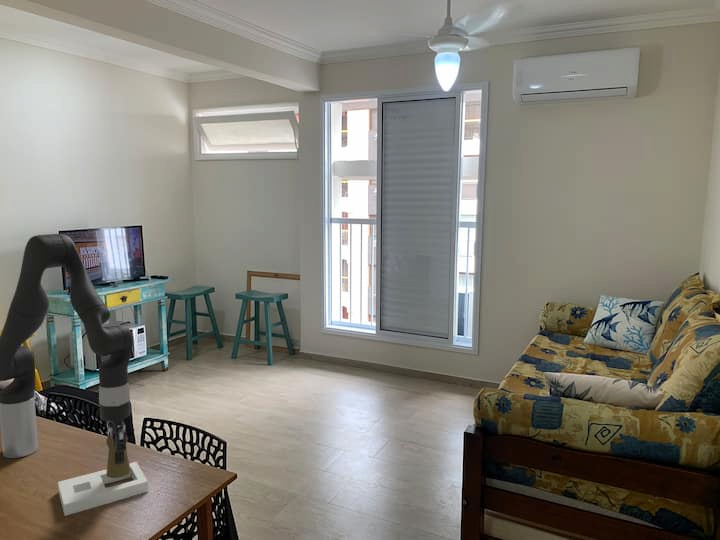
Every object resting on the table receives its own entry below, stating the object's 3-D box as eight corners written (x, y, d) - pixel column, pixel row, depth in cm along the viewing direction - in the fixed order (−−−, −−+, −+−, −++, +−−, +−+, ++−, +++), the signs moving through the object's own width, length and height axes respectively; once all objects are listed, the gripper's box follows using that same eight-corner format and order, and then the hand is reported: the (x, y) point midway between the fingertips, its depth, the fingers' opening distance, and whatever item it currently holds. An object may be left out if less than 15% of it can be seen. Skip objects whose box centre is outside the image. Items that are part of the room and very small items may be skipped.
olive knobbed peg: (121, 479, 142) (119, 440, 141) (101, 476, 143) (99, 437, 142) (135, 468, 148) (133, 430, 146) (116, 465, 149) (114, 428, 148)
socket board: (58, 492, 143) (57, 481, 143) (136, 471, 155) (136, 461, 154) (64, 516, 133) (63, 504, 132) (148, 491, 144) (147, 481, 144)
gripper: (94, 394, 146) (98, 452, 149) (104, 411, 135) (107, 474, 137) (124, 389, 151) (126, 445, 153) (135, 405, 139) (138, 466, 141)
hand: (117, 459), depth 145 cm, fingers closed on olive knobbed peg, 4 cm apart
